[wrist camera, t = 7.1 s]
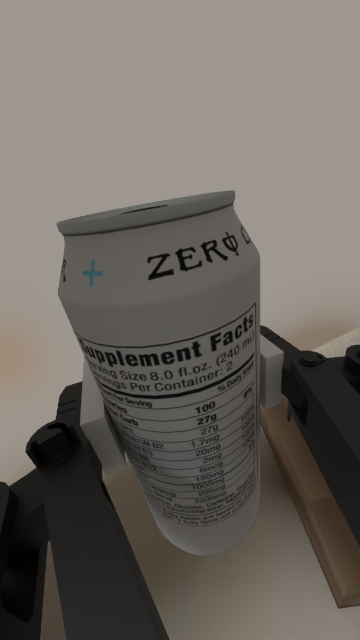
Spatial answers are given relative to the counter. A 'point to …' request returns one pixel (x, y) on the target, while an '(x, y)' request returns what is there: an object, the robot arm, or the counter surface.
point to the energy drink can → (175, 355)
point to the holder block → (315, 505)
